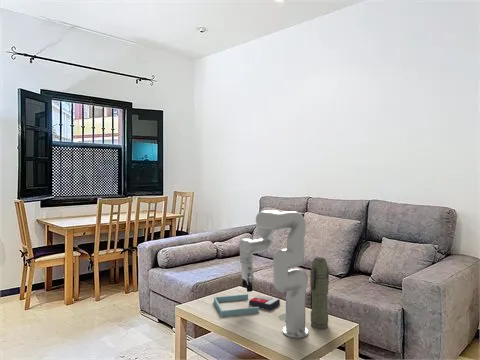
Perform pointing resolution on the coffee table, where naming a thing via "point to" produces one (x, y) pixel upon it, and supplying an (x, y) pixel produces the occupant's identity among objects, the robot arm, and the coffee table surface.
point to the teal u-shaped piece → (234, 311)
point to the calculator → (265, 302)
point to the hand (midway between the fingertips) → (247, 289)
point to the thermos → (319, 293)
